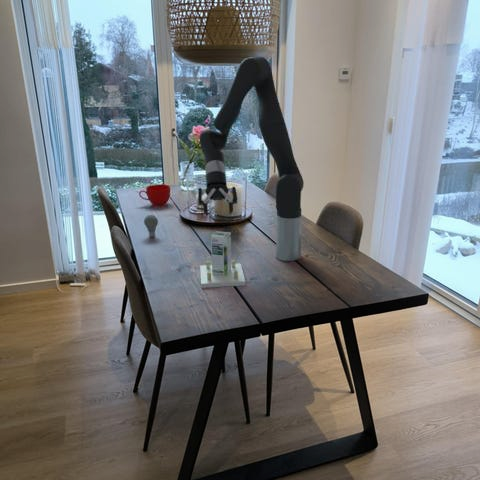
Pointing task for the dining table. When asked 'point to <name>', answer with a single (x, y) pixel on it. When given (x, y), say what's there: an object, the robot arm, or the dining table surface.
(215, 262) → the syrup box
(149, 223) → the light bulb
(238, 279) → the pin plate
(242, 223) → the dining table surface
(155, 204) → the ceramic cup
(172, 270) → the dining table surface
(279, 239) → the robot arm
